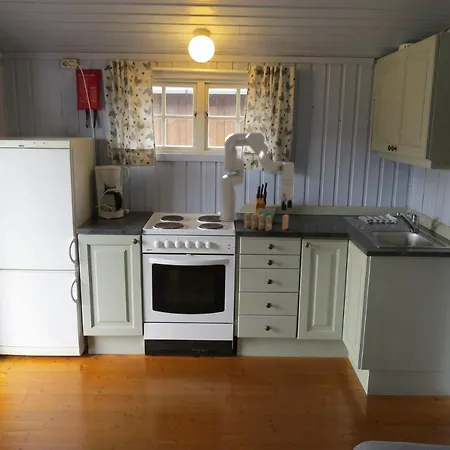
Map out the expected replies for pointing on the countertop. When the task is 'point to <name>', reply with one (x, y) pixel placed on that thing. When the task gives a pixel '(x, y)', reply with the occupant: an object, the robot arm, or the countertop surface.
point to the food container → (267, 212)
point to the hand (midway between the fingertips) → (286, 209)
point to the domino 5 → (285, 222)
